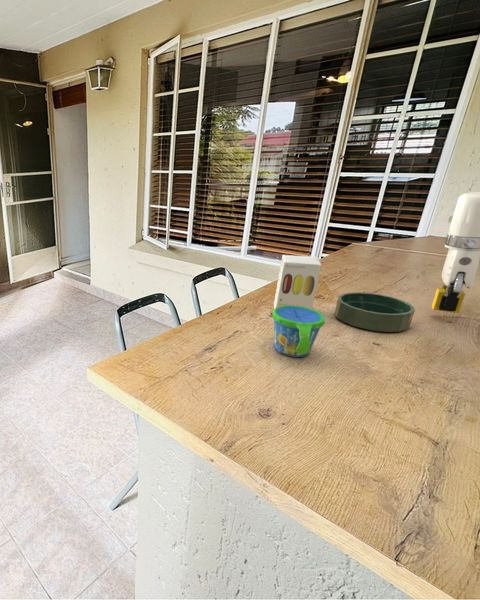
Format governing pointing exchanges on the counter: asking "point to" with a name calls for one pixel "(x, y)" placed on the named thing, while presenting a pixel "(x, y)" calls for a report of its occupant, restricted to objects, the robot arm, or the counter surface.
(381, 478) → the counter surface
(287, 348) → the snack cup
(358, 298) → the basin
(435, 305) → the sponge
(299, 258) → the supplement box
